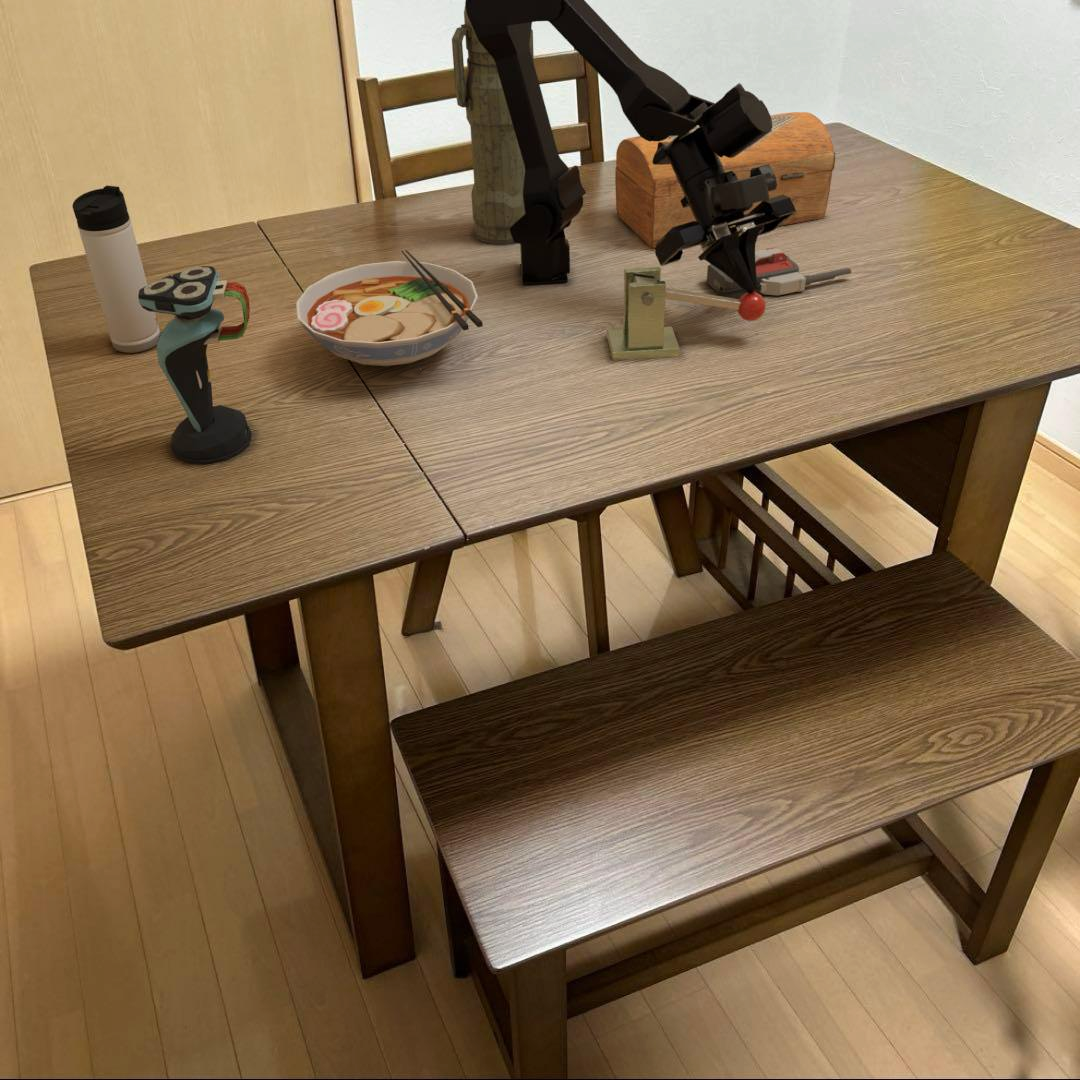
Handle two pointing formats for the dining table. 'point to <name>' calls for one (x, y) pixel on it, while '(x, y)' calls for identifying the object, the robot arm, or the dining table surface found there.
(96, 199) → the travel mug
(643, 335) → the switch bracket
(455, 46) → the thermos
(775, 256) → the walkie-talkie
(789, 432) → the dining table surface
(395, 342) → the ramen bowl
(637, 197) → the wooden box
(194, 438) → the electric shaver
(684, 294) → the switch lever
